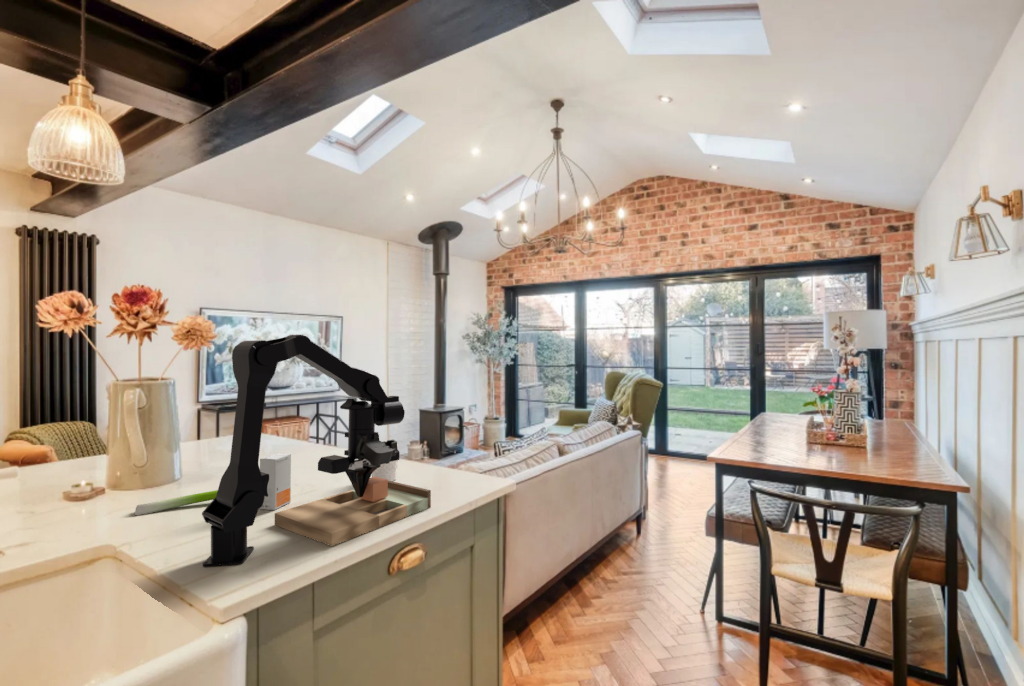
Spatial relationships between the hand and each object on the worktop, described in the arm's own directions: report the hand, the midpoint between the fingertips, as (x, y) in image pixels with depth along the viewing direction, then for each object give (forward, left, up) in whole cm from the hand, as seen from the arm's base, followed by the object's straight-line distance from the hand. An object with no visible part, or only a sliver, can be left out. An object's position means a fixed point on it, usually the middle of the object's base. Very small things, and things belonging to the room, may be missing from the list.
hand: (360, 496), depth 112 cm
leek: (+14, +36, -5) cm, 39 cm away
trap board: (0, 0, -4) cm, 4 cm away
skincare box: (+10, +21, -4) cm, 23 cm away
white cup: (+28, -3, -4) cm, 28 cm away
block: (+3, -3, -1) cm, 4 cm away
